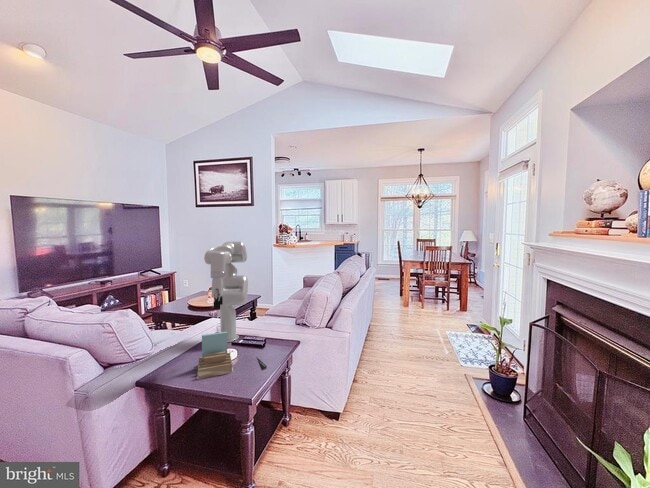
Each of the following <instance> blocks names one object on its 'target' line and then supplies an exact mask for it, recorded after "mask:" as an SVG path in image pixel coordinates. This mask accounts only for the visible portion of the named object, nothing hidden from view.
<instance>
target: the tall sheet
mask: <svg viewBox="0 0 650 488" xmlns="http://www.w3.org/2000/svg"><path fill="white" fill-rule="evenodd" d="M224 351H225V352H226V356H227V353H228V342H227V332H221V331H220V332H214V333H206V334H201V357H202V360H204V354H211V353H217V352H224Z"/></svg>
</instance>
